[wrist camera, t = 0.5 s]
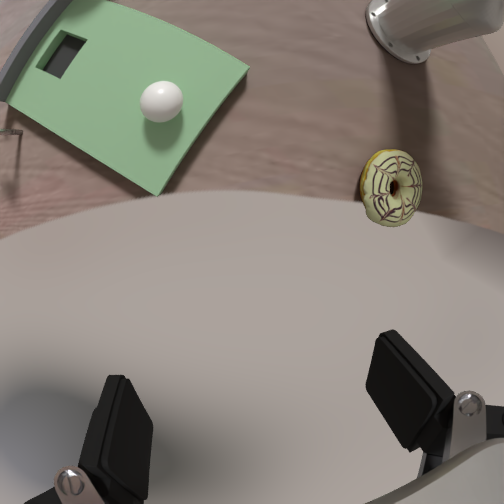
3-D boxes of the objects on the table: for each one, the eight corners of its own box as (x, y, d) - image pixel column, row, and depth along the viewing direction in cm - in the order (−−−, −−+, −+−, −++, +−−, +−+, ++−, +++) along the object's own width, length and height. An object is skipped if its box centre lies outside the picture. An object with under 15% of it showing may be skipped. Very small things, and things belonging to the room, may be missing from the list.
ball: (160, 80, 24) (153, 68, 20) (193, 98, 26) (190, 88, 22) (137, 113, 25) (125, 106, 21) (169, 132, 27) (162, 127, 22)
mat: (78, -2, 18) (64, -17, 13) (247, 72, 28) (253, 58, 23) (9, 100, 22) (-13, 96, 17) (160, 194, 31) (151, 200, 26)
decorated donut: (357, 229, 37) (371, 237, 33) (348, 153, 33) (363, 153, 29) (412, 215, 37) (427, 221, 34) (406, 146, 33) (423, 147, 30)
